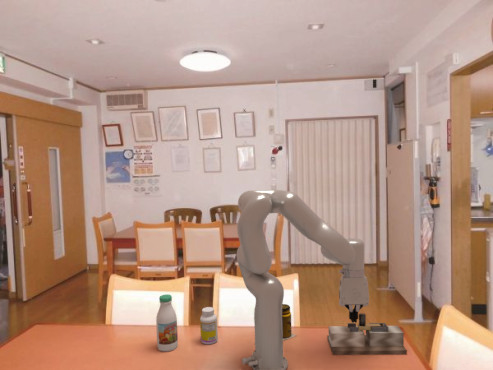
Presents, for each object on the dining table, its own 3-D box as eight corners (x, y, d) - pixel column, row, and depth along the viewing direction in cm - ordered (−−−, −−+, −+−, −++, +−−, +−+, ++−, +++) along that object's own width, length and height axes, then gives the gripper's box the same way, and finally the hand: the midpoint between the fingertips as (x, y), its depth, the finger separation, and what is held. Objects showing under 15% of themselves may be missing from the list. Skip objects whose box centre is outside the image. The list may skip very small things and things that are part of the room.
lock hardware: (350, 332, 139) (349, 327, 139) (347, 327, 143) (347, 323, 143) (388, 331, 138) (388, 327, 138) (384, 326, 142) (384, 322, 142)
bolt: (359, 330, 139) (358, 315, 139) (357, 327, 142) (357, 313, 141) (381, 330, 139) (381, 315, 139) (379, 327, 141) (379, 313, 141)
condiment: (296, 336, 151) (295, 306, 150) (279, 342, 146) (278, 312, 145) (284, 329, 157) (283, 301, 156) (268, 335, 152) (267, 306, 152)
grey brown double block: (333, 354, 135) (332, 337, 135) (327, 339, 147) (327, 322, 147) (406, 354, 134) (406, 336, 134) (395, 338, 146) (394, 322, 146)
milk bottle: (153, 349, 143) (150, 298, 142) (166, 340, 150) (164, 291, 149) (169, 353, 140) (166, 301, 138) (182, 344, 146) (179, 294, 145)
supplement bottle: (205, 336, 153) (204, 305, 152) (220, 338, 151) (219, 306, 150) (197, 343, 147) (196, 311, 146) (213, 346, 145) (212, 313, 144)
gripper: (335, 275, 136) (335, 325, 137) (377, 275, 135) (377, 325, 136) (331, 269, 143) (331, 316, 144) (371, 269, 143) (370, 316, 144)
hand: (353, 320), depth 140 cm, fingers closed
